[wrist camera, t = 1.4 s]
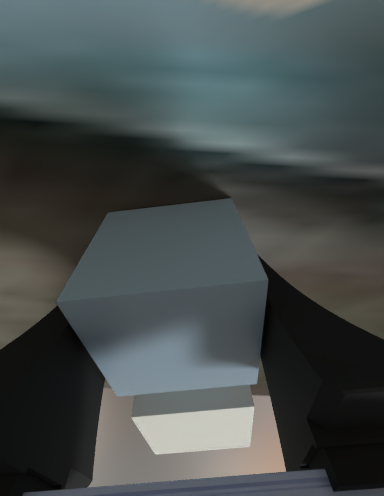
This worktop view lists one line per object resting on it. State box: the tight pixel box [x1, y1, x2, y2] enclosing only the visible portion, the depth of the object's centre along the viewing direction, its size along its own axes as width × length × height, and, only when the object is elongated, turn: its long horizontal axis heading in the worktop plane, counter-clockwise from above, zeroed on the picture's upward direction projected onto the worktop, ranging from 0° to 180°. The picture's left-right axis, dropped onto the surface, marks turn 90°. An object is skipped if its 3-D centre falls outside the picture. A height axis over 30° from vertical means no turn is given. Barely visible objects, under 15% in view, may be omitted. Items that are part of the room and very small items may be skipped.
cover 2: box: [131, 385, 254, 455], centre depth 15 cm, size 6×6×6 cm
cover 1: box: [56, 198, 268, 397], centre depth 10 cm, size 6×6×6 cm
